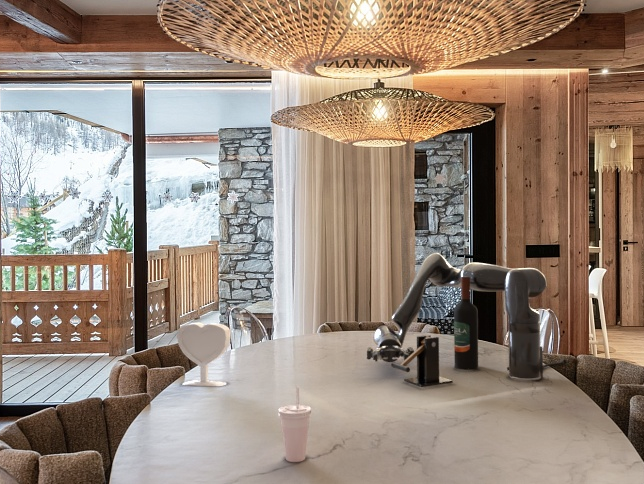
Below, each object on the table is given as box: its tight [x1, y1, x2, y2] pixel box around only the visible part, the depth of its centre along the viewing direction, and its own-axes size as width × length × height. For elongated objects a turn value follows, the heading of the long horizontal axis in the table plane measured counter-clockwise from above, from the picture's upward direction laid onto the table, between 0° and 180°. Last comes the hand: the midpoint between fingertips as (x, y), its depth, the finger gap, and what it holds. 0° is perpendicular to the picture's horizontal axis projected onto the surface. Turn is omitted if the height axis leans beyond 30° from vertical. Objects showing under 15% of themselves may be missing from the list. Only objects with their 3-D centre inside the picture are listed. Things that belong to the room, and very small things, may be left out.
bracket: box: [403, 334, 453, 388], centre depth 177 cm, size 11×9×14 cm
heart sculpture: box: [176, 322, 232, 387], centre depth 180 cm, size 16×5×18 cm, turn 79°
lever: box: [390, 336, 432, 373], centre depth 175 cm, size 13×8×2 cm
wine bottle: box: [453, 277, 479, 371], centre depth 196 cm, size 8×8×30 cm
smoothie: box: [278, 386, 312, 463], centre depth 118 cm, size 6×6×14 cm
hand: (390, 357), depth 177 cm, fingers open, 8 cm apart
